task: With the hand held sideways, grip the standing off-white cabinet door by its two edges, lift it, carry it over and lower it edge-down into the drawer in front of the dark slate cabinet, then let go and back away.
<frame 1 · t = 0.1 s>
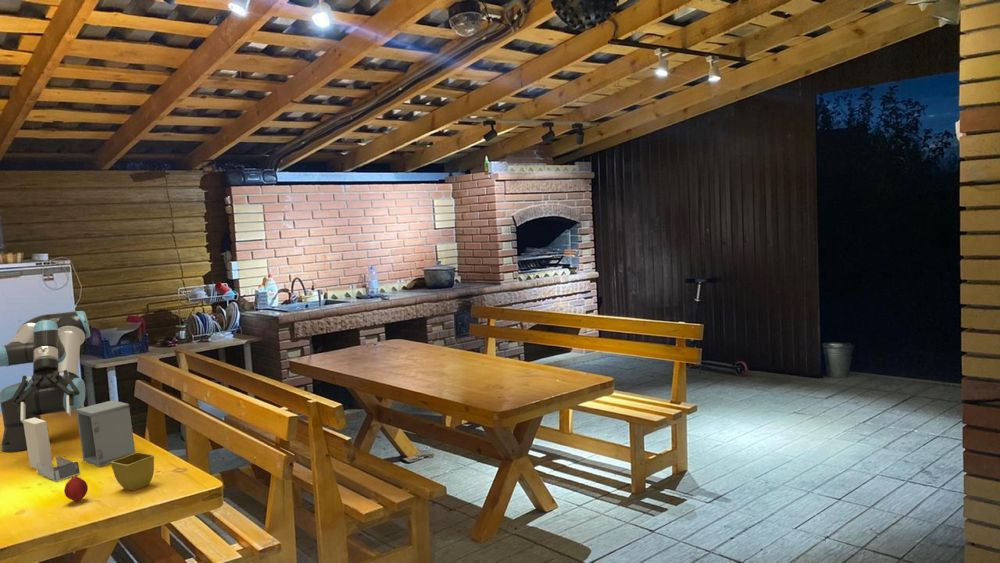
hand: (46, 417, 253), 15 cm above the table, tool tilted 35°, fingers open, 13 cm apart
flower pot: (136, 488, 222), on the table
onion: (78, 502, 214), on the table
drawer: (58, 474, 240), on the table
door: (41, 467, 249), on the table
cabinet: (109, 458, 253), on the table
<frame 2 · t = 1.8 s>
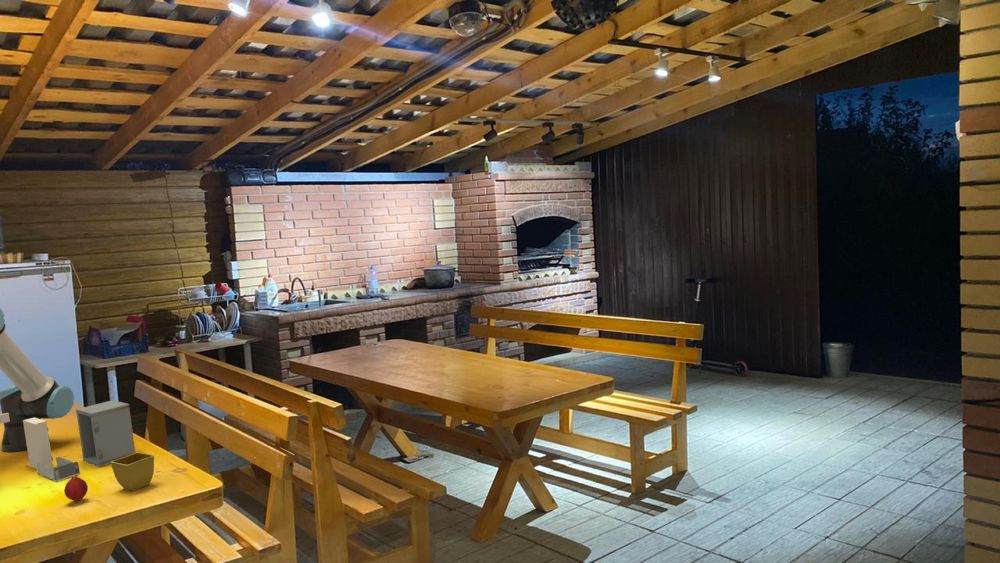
hand: (1, 414, 240), 21 cm above the table, tool horizontal, fingers open, 13 cm apart
nothing on the table moved.
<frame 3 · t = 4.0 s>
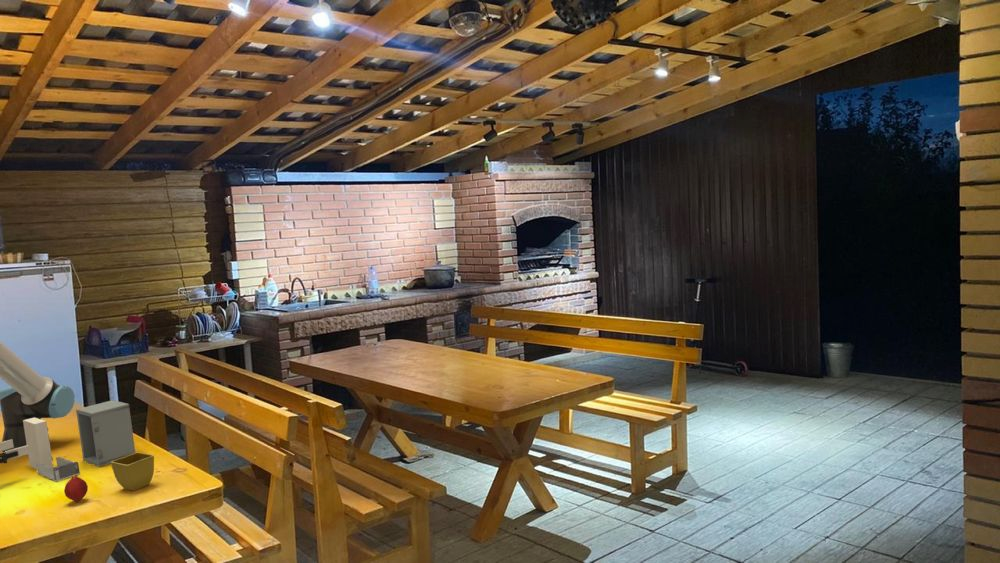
hand: (20, 446, 244), 9 cm above the table, tool horizontal, fingers open, 13 cm apart
nothing on the table moved.
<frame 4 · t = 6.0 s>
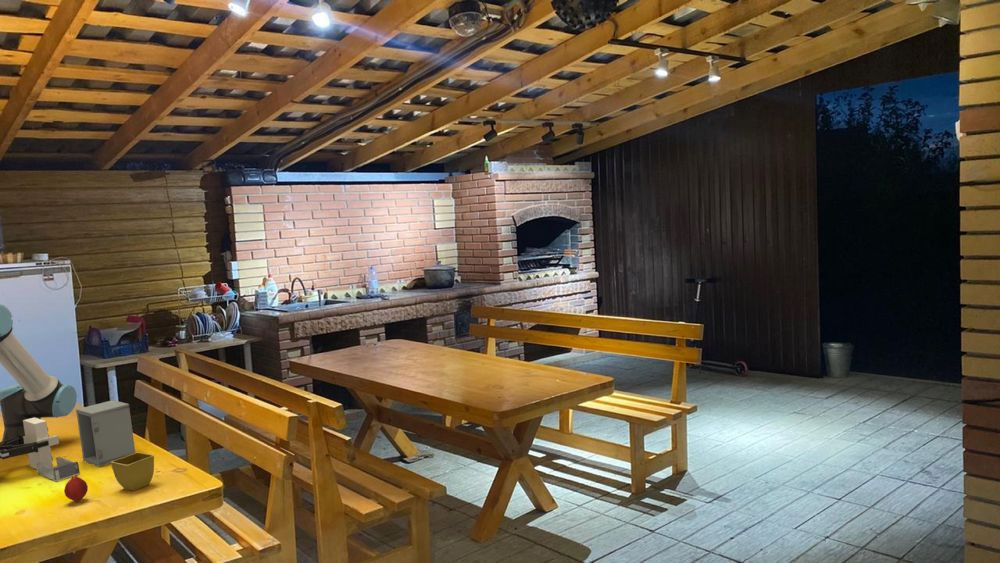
hand: (51, 437, 251), 9 cm above the table, tool horizontal, fingers closed on door, 10 cm apart
door: (41, 467, 249), on the table, touching gripper
everything else where it was.
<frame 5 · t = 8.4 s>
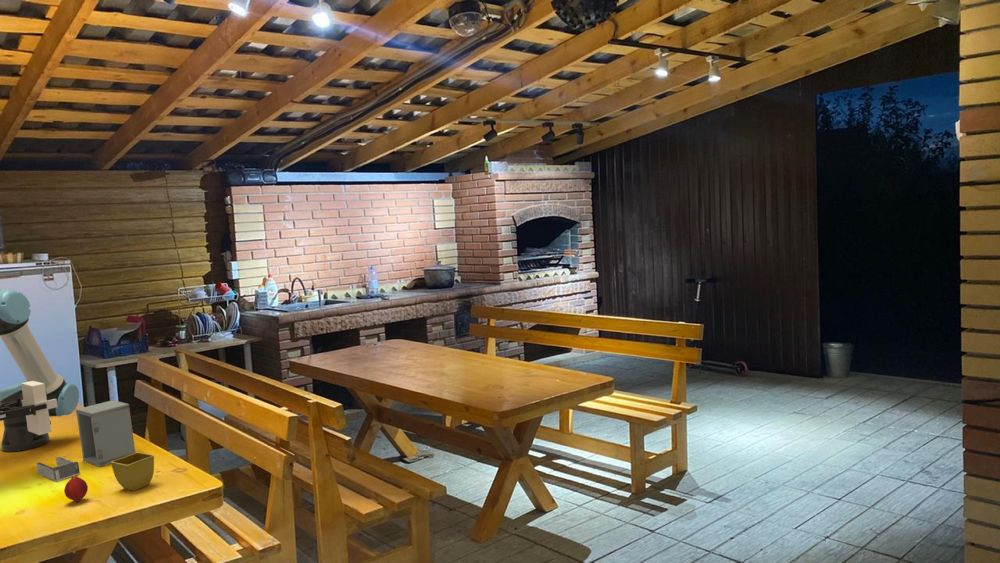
hand: (50, 401, 245), 22 cm above the table, tool horizontal, fingers closed on door, 10 cm apart
door: (39, 431, 243), point 13 cm above the table, touching gripper
everything else where it was.
when the fingers open (10 cm above the table, at t = 11.1 s): door stays where it is, resting on drawer.
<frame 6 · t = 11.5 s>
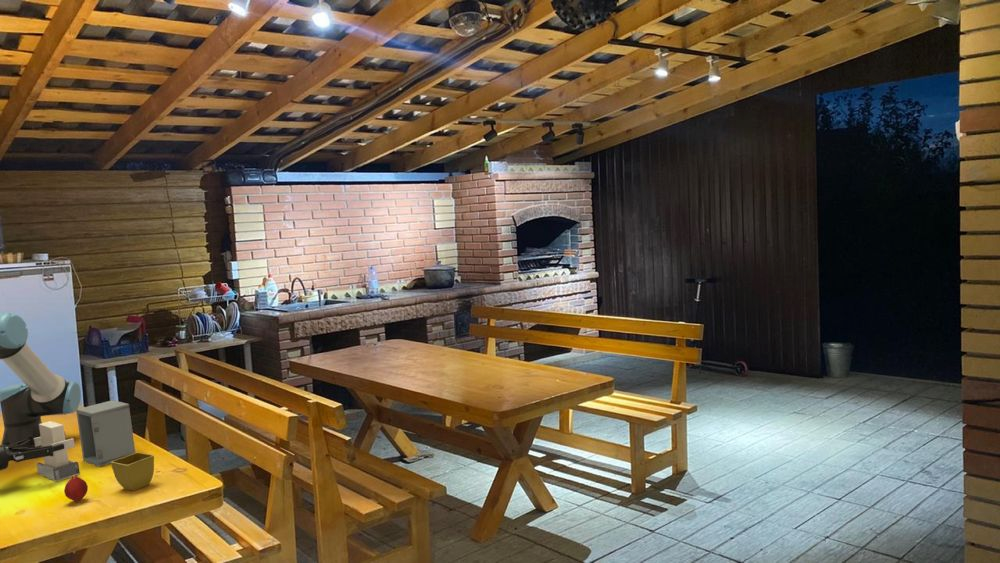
hand: (65, 439, 242), 10 cm above the table, tool horizontal, fingers open, 13 cm apart
door: (58, 472, 240), resting on drawer
everything else where it was.
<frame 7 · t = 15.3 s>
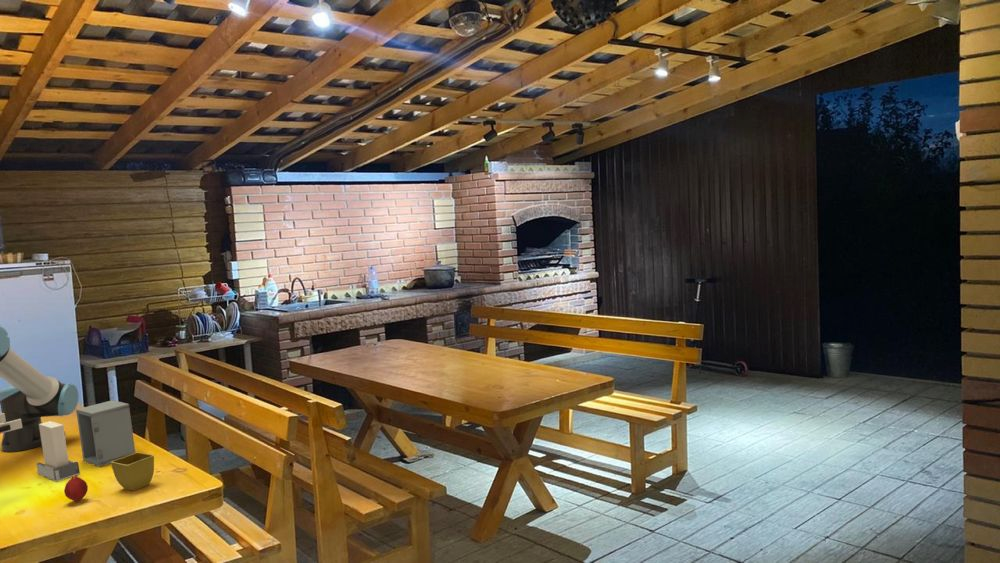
hand: (13, 420, 230), 21 cm above the table, tool horizontal, fingers open, 13 cm apart
nothing on the table moved.
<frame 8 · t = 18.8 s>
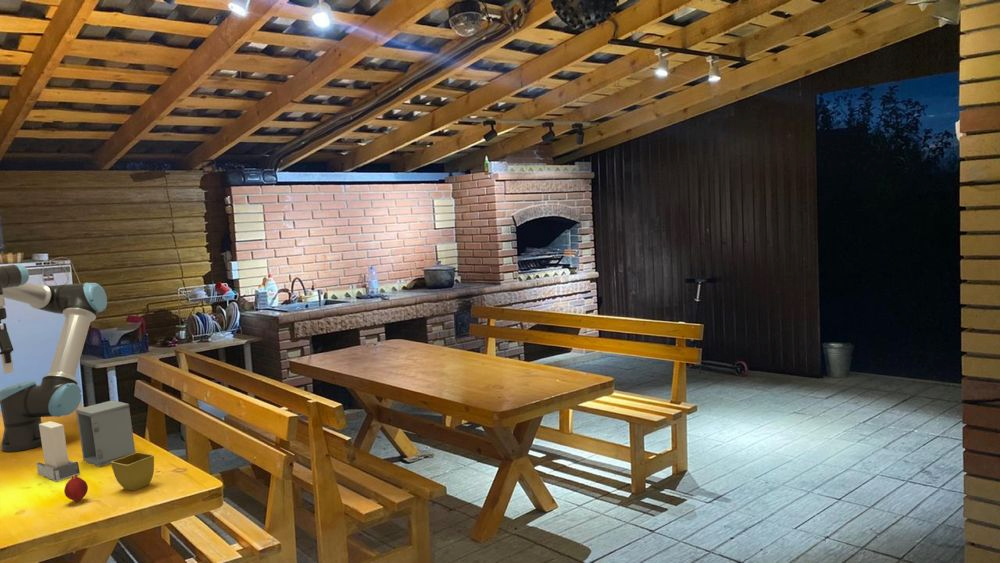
hand: (1, 371, 250), 33 cm above the table, tool pointing down, fingers open, 13 cm apart
nothing on the table moved.
at the end: door 0.1 cm from the drawer (horizontally); door point 0.5 cm above the table; door tilted 0° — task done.
